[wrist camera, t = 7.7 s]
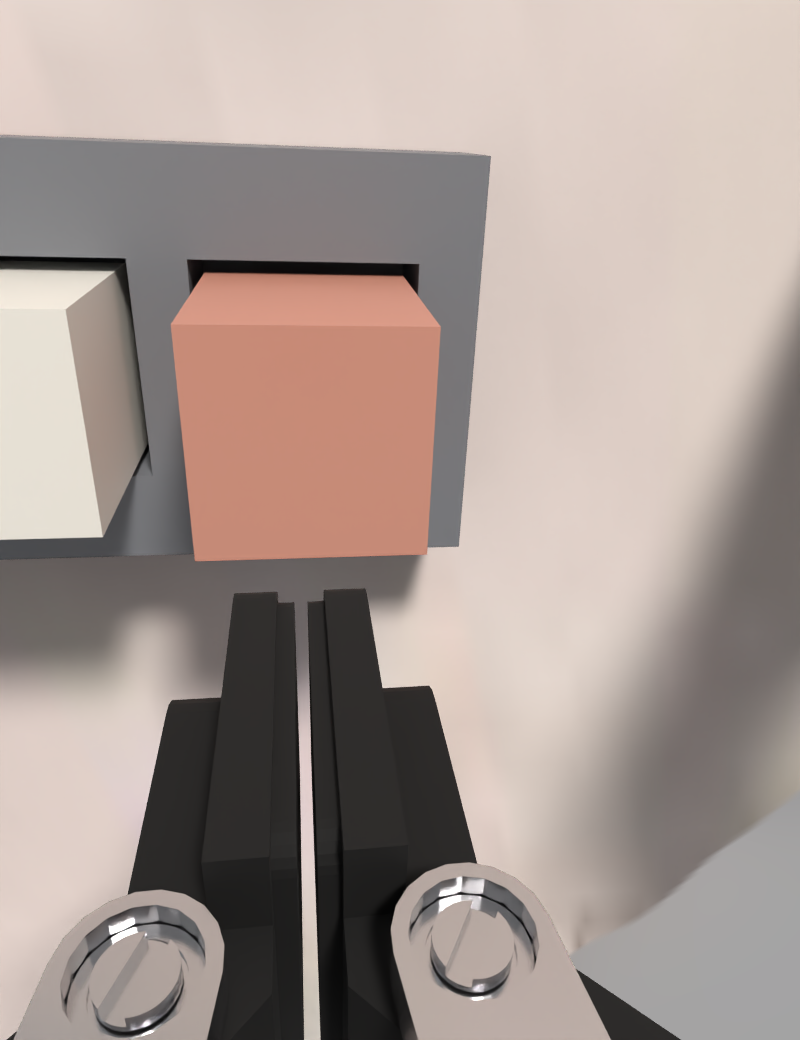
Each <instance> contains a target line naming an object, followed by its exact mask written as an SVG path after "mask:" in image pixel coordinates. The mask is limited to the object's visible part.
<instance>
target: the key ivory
mask: <svg viewBox="0 0 800 1040" xmlns="http://www.w3.org/2000/svg"><path fill="white" fill-rule="evenodd" d="M147 444H148V436H147V428H146V420H145V412H144V404H143V396H142V388H141V380H140V372H139V364H138V356H137V348H136V340H135V332H134V324H133V316H132V308H131V300H130V292H129V284H128V276H127V268H126V263H103V262H49V261H0V540H10V539H49V538H89V537H103V536H104V534H105V532H106V530H107V528H108V525H109V523H110V521H111V519H112V517H113V515H114V513H115V511H116V509H117V507H118V505H119V502H120V500H121V498H122V496H123V494H124V492H125V490H126V488H127V486H128V484H129V481H130V479H131V477H132V475H133V473H134V471H135V469H136V467H137V465H138V463H139V461H140V458H141V456H142V454H143V452H144V450H145V448H146V446H147Z"/></svg>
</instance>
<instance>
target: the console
mask: <svg viewBox="0 0 800 1040" xmlns="http://www.w3.org/2000/svg"><path fill="white" fill-rule="evenodd" d="M490 160H491V156H486V155H478V154H470V153H462V152H436V151H410V150H384V149H357V148H331V147H305V146H279V145H253V144H227V143H201V142H175V141H149V140H123V139H97V138H71V137H45V136H19V135H0V261H49V262H103V263H126V268H127V276H128V284H129V292H130V300H131V308H132V316H133V324H134V332H135V340H136V348H137V356H138V364H139V372H140V380H141V388H142V396H143V404H144V412H145V420H146V428H147V436H148V444H147V446H146V448H145V450H144V452H143V454H142V456H141V458H140V461H139V463H138V465H137V467H136V469H135V471H134V473H133V475H132V477H131V479H130V481H129V484H128V486H127V488H126V490H125V492H124V494H123V496H122V498H121V500H120V502H119V505H118V507H117V509H116V511H115V513H114V515H113V517H112V519H111V521H110V523H109V525H108V528H107V530H106V532H105V534H104V536H103V537H89V538H49V539H10V540H0V560H4V559H39V558H74V557H109V556H144V555H179V554H194V547H193V537H192V528H191V518H190V508H189V498H188V489H187V479H186V469H185V459H184V450H183V440H182V430H181V420H180V411H179V401H178V391H177V381H176V372H175V362H174V352H173V342H172V333H171V323H172V322H173V320H174V319H175V317H176V315H177V314H178V312H179V311H180V309H181V308H182V306H183V305H184V303H185V302H186V300H187V299H188V297H189V296H190V294H191V293H192V291H193V289H194V288H195V286H196V285H197V283H198V282H199V280H200V279H201V277H202V276H203V274H204V273H205V272H238V273H295V274H353V275H403V276H404V278H405V279H406V280H407V282H408V283H409V285H410V286H411V287H412V289H413V290H414V291H415V293H416V294H417V295H418V297H419V298H420V299H421V301H422V302H423V303H424V305H425V306H426V308H427V309H428V310H429V312H430V313H431V314H432V316H433V317H434V318H435V320H436V321H437V322H438V324H439V325H440V326H441V331H440V347H439V364H438V380H437V397H436V413H435V430H434V446H433V463H432V479H431V496H430V512H429V529H428V545H427V547H459V536H460V524H461V512H462V500H463V488H464V476H465V463H466V451H467V439H468V427H469V415H470V403H471V391H472V379H473V366H474V354H475V342H476V330H477V318H478V306H479V294H480V281H481V269H482V257H483V245H484V233H485V221H486V209H487V196H488V184H489V172H490Z"/></svg>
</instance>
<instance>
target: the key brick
mask: <svg viewBox="0 0 800 1040" xmlns="http://www.w3.org/2000/svg"><path fill="white" fill-rule="evenodd" d="M440 331H441V326H440V325H439V324H438V322H437V321H436V320H435V318H434V317H433V316H432V314H431V313H430V312H429V310H428V309H427V308H426V306H425V305H424V303H423V302H422V301H421V299H420V298H419V297H418V295H417V294H416V293H415V291H414V290H413V289H412V287H411V286H410V285H409V283H408V282H407V280H406V279H405V278H404V276H403V275H353V274H295V273H238V272H205V273H204V274H203V276H202V277H201V279H200V280H199V282H198V283H197V285H196V286H195V288H194V289H193V291H192V293H191V294H190V296H189V297H188V299H187V300H186V302H185V303H184V305H183V306H182V308H181V309H180V311H179V312H178V314H177V315H176V317H175V319H174V320H173V322H172V323H171V333H172V342H173V352H174V362H175V372H176V381H177V391H178V401H179V411H180V420H181V430H182V440H183V450H184V459H185V469H186V479H187V489H188V498H189V508H190V518H191V528H192V537H193V547H194V557H195V561H222V560H256V559H289V558H323V557H357V556H390V555H424V554H427V545H428V529H429V512H430V496H431V479H432V463H433V446H434V430H435V413H436V397H437V380H438V364H439V347H440Z"/></svg>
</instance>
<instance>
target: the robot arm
mask: <svg viewBox="0 0 800 1040" xmlns="http://www.w3.org/2000/svg"><path fill="white" fill-rule="evenodd" d="M308 637H309V680H310V723H311V765H312V797H313V826H314V856H315V885H316V915H317V944H318V974H319V1003H320V1032H321V1040H680V1039H679V1038H677V1037H676V1036H674V1035H673V1034H671V1033H670V1032H669V1031H667V1030H665V1029H664V1028H662V1027H661V1026H660V1025H658V1024H657V1023H655V1022H654V1021H652V1020H651V1019H649V1018H648V1017H646V1016H645V1015H643V1014H641V1013H640V1012H639V1011H637V1010H636V1009H635V1008H633V1007H631V1006H630V1005H629V1004H627V1003H626V1002H624V1001H623V1000H621V999H620V998H618V997H617V996H615V995H614V994H612V993H611V992H609V991H608V990H606V989H605V988H603V987H602V986H600V985H599V984H598V983H596V982H594V981H593V980H592V979H590V978H589V977H587V976H586V975H584V974H583V973H581V972H580V971H578V970H577V969H575V967H574V965H573V963H572V961H571V959H570V957H569V955H568V952H567V950H566V948H565V946H564V944H563V942H562V940H561V938H560V936H559V934H558V932H557V930H556V928H555V926H554V924H553V922H552V920H551V918H550V916H549V914H548V913H547V911H546V910H545V909H544V907H543V906H542V904H541V903H540V901H539V900H538V898H537V897H536V895H535V894H534V893H533V892H532V891H531V890H529V889H528V888H527V887H526V886H525V885H523V884H522V883H521V882H520V881H519V880H518V879H516V878H515V877H513V876H511V875H509V874H507V873H505V872H503V871H501V870H498V869H496V868H494V867H491V866H486V865H480V864H477V861H476V857H475V853H474V850H473V846H472V842H471V838H470V834H469V830H468V826H467V822H466V818H465V814H464V811H463V807H462V803H461V799H460V795H459V791H458V787H457V783H456V779H455V776H454V772H453V768H452V764H451V760H450V756H449V752H448V748H447V744H446V740H445V737H444V733H443V729H442V725H441V721H440V717H439V713H438V709H437V705H436V702H435V698H434V695H433V692H432V689H431V688H430V686H417V687H399V688H382V683H381V677H380V671H379V665H378V659H377V653H376V647H375V641H374V635H373V629H372V623H371V617H370V611H369V605H368V599H367V593H366V589H340V590H324V601H317V602H308ZM7 1040H304V1010H303V945H302V880H301V815H300V762H299V731H298V701H297V670H296V640H295V610H294V602H292V603H278V594H277V592H263V593H237V594H234V598H233V606H232V614H231V622H230V630H229V639H228V647H227V655H226V663H225V671H224V680H223V688H222V696H221V698H205V699H187V700H172V701H171V702H170V704H169V706H168V710H167V713H166V718H165V722H164V727H163V732H162V736H161V741H160V746H159V750H158V755H157V760H156V764H155V769H154V774H153V778H152V783H151V788H150V792H149V797H148V802H147V807H146V811H145V816H144V821H143V825H142V830H141V835H140V839H139V844H138V849H137V853H136V858H135V863H134V867H133V872H132V877H131V881H130V886H129V891H128V895H126V896H123V897H120V898H118V899H115V900H112V901H109V902H108V903H106V904H104V905H103V906H101V907H100V908H98V909H97V910H95V911H93V912H92V913H90V914H89V915H87V916H86V917H84V918H83V919H82V920H81V921H80V922H79V923H78V924H77V925H76V926H75V927H74V928H73V929H72V930H71V931H70V932H69V933H68V934H67V935H66V936H65V937H64V938H63V939H62V941H61V943H60V944H59V946H58V948H57V949H56V951H55V952H54V954H53V956H52V957H51V959H50V961H49V962H48V964H47V966H46V968H45V970H44V973H43V975H42V977H41V979H40V982H39V984H38V986H37V988H36V991H35V993H34V995H33V997H32V999H31V1002H30V1004H29V1006H28V1008H27V1011H26V1013H25V1015H24V1017H23V1020H22V1022H21V1024H20V1026H19V1028H18V1031H17V1032H15V1033H14V1034H13V1035H12V1036H11V1037H10V1038H8V1039H7Z"/></svg>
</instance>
